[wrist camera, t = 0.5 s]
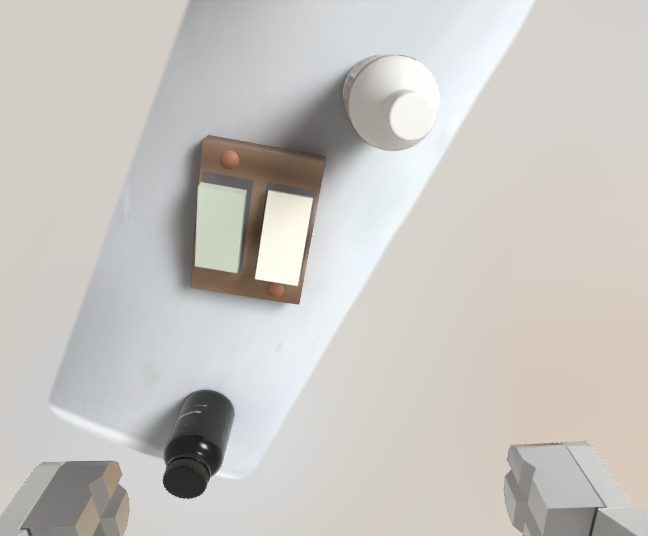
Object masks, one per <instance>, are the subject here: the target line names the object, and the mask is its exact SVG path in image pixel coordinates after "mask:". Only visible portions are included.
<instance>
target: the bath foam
mask: <svg viewBox="0 0 648 536" xmlns="http://www.w3.org/2000/svg"><path fill="white" fill-rule="evenodd" d="M343 101H344V105H345V109H346V111H347V114H348V116H349V118H350V121H351V123H352V125H353V127H354V129H355V131H356V132H357V134H358V135H359V136H360V137H361V138H362V139H363V140H364V141H365V142H367V143H368V144H370V145H371V146H373V147H376V148H378V149H382V150H387V151H398V150H404V149H407V148H410V147H412V146H414V145H416V144H417V143H419V142H420V141H421V140H423V139H424V138H425V137H426V136H427V135H428V134H429V132H430V131H431V130H432V128H433V126H434V125H435V123H436V120H437V118H438V114H439V110H440V94H439V89H438V86H437V83H436V81H435V79H434V77H433V75H432V74H431V72H430V71H429V70H428V69H427V68H426V67H425V66H424V65H423V64H421V63H420V62H418V61H416V59H413V58H411V57H408V56H403V55H375V56H370V57H368V58H365V59H363V60H362V61H360V62H359V63H357V64H356V65H355V66H354V67H353V68H352V70H351V71H350V72H349V74H348V76H347V78H346V80H345V84H344V88H343Z"/></svg>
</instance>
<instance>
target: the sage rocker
mask: <svg viewBox="0 0 648 536" xmlns="http://www.w3.org/2000/svg"><path fill="white" fill-rule="evenodd" d="M246 194H247V190H243V189H238V188H232V187H226V186H220V185H215V184H209V183H203V182H201V183H200V184H199V186H198V196H197V222H196V248H195V266H196V267H202V268H209V269H215V270H221V271H227V272H233V273H237V272H238V269H239V264H240V254H241V244H242V234H243V224H244V214H245V204H246Z"/></svg>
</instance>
